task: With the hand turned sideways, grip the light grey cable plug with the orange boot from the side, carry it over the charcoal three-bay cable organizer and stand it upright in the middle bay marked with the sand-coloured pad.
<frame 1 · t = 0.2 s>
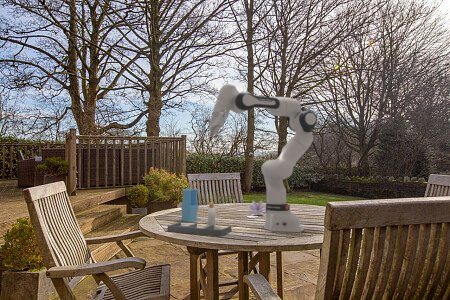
hand: (213, 135, 194), 52 cm above the table, tool tilted 20°, fingers open, 8 cm apart
water lily: (256, 215, 254), on the table
vase: (189, 221, 229), on the table
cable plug: (211, 226, 207), on the table
cable organizer: (199, 231, 193), on the table
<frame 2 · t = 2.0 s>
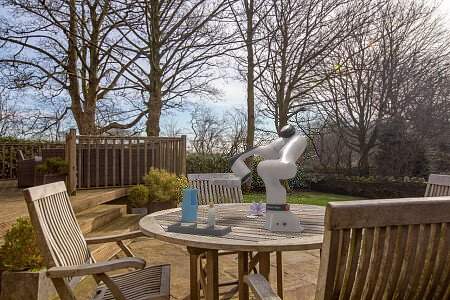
hand: (219, 182, 219), 25 cm above the table, tool horizontal, fingers open, 8 cm apart
nothing on the table moved.
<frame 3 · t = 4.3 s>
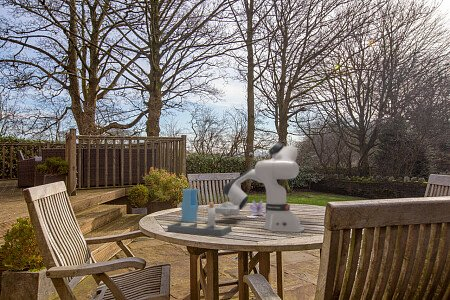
hand: (218, 211, 216), 7 cm above the table, tool horizontal, fingers open, 8 cm apart
nothing on the table moved.
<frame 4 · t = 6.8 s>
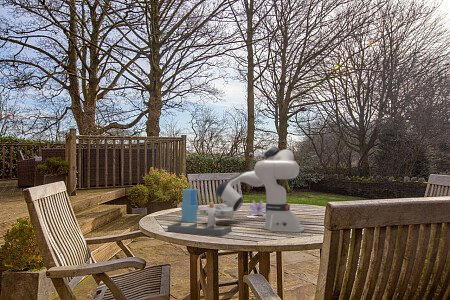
hand: (210, 214, 207), 8 cm above the table, tool horizontal, fingers closed on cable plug, 4 cm apart
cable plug: (211, 226, 207), on the table, touching gripper
everything else where it was.
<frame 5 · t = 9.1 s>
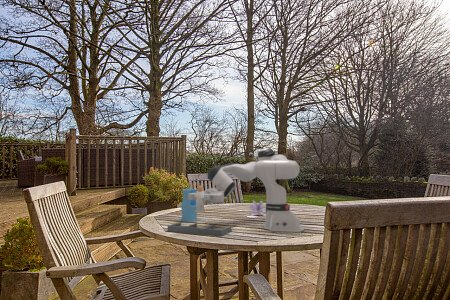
hand: (199, 198, 194), 18 cm above the table, tool horizontal, fingers closed on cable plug, 4 cm apart
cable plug: (200, 212, 195), point 10 cm above the table, touching gripper
everything else where it was.
when the fingers open (10 cm above the table, at t = 11.4 s): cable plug drops 1 cm, resting on cable organizer.
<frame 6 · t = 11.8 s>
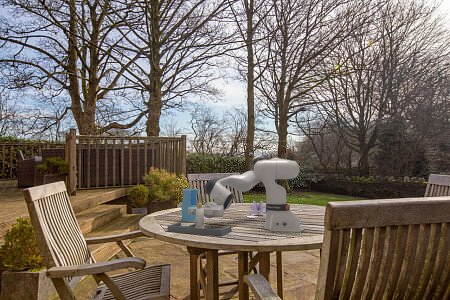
hand: (199, 213, 193), 10 cm above the table, tool horizontal, fingers open, 8 cm apart
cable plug: (199, 229, 194), point 1 cm above the table, touching cable organizer
everything else where it was.
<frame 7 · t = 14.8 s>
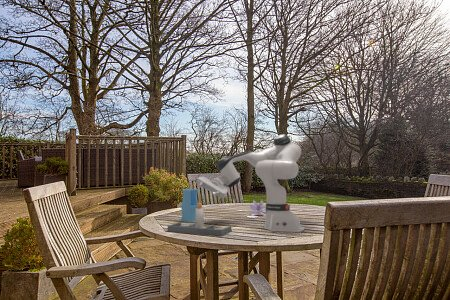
hand: (206, 190, 211), 21 cm above the table, tool horizontal, fingers open, 8 cm apart
nothing on the table moved.
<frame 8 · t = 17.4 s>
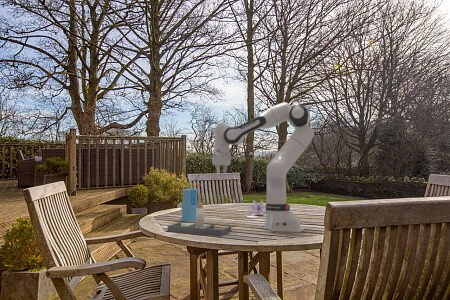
hand: (221, 172, 217), 31 cm above the table, tool pointing down, fingers open, 8 cm apart
nothing on the table moved.
at the end: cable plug inside the target area on the cable organizer (0.1 cm from its centre), point 1.2 cm above the cable organizer's base; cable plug tilted 2°; the gripper is holding nothing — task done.
